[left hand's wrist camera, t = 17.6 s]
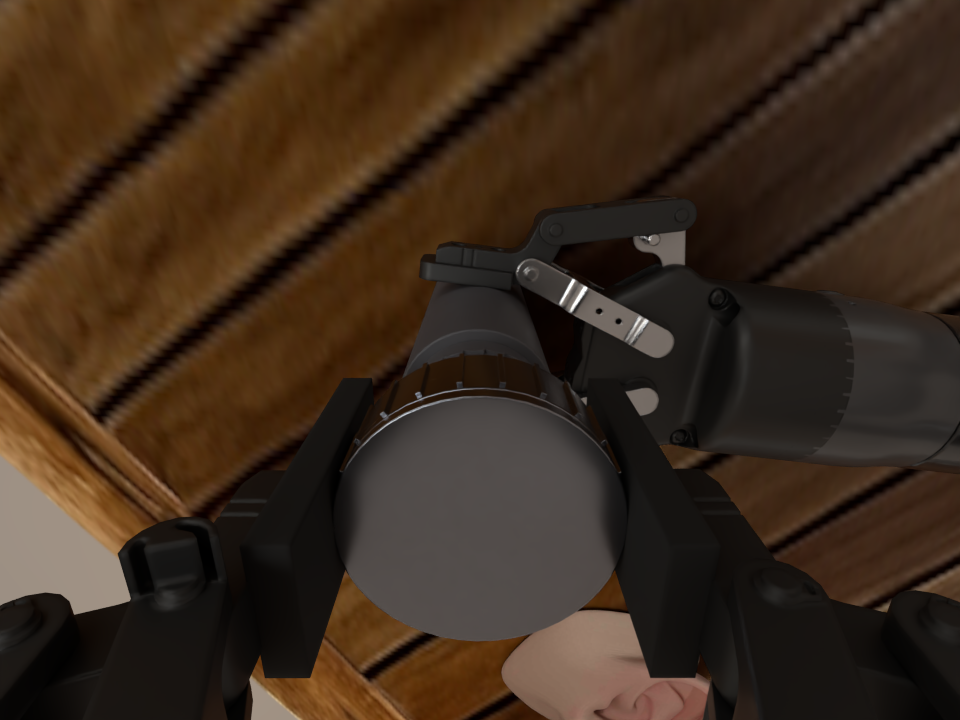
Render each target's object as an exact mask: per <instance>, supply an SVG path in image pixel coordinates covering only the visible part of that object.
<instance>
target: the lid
mask: <svg viewBox="0 0 960 720" xmlns="http://www.w3.org/2000/svg"><path fill="white" fill-rule="evenodd" d="M338 475H341V476H340V479H339V482H338V485H337V488H336V491H335V495H334V501H333V508H332V520H333V530H334V538H335V544H336V547H337V551H338V554H339V557H340V559H341V561H342V563H343V565H344V567H345V569H346V571H347V573H348V574H349V576H350V577H351V579H352V580H353V582H354V583H355V585H356V586H357V587H358V588H359V589H360V590H361V592H362V593H363V594H364V595H365V596H366V597H367V598H368V599H369V600H370V601H371V602H373V603H374V604H375V605H376V606H377V607H378V608H380V609H381V610H382V611H384V612H385V613H387V614H388V615H390V616H391V617H393V618H395V619H396V620H398V621H400V622H402V623H404V624H406V625H408V626H410V627H413V628H415V629H418V630H420V631H423V632H426V633H429V634H433V635H437V636H440V637H445V638H451V639H457V640H468V641H495V640H503V639H510V638H515V637H520V636H524V635H528V634H531V633H534V632H537V631H540V630H543V629H546V628H548V627H550V626H552V625H554V624H556V623H559V622H561V621H562V620H564V619H566V618H567V617H569V616H571V615H572V614H574V613H575V612H577V611H578V610H579V609H581V608H582V607H583V606H584V605H586V604H587V603H588V602H589V601H590V600H591V599H592V598H593V597H594V596H595V595H596V594H597V593H598V592H599V591H600V590H601V589H602V588H603V586H604V585H605V584H606V582H607V581H608V580H609V579H610V577H611V575H612V573H613V572H614V570H615V568H616V566H617V565H618V562H619V560H620V557H621V555H622V552H623V550H624V546H625V540H626V533H627V524H628V503H627V498H626V494H625V490H624V486H623V483H622V481H621V478H620V477H622V476H623V474H622V471H621V469H620V467H619V464H618V462H617V460H616V458H615V455H614V453H613V451H612V449H611V447H610V444H609V442H608V440H607V438H606V435H605V434H604V433H603V431H602V429H601V426H600V424H599V422H598V420H597V417H596V415H595V413H594V411H593V408H592V407H591V406H590V405H589V406H588V407H587V406H586V405H585V403H584V402H583V401H582V400H581V399H580V397H579V396H578V395H577V394H576V393H575V392H574V391H573V390H572V388H571V386H570V383H569V382H567V381H565V382H562V381H561V380H560V379H558V378H557V377H555V376H554V375H552V374H551V373H549V372H547V371H545V370H543V369H541V368H540V367H539V364H537V363H534V364H533V365H532V364H529V363H526V362H523V361H520V360H516V359H512V358H507V357H503V354H499V353H498V355H497V356H492V355H466V356H465V354H464V353H462V354H459V357H453V358H448V359H444V360H441V361H437V362H434V363H431V364H428V362H426V363H424V364H423V366H422V368H420V369H417V370H415V371H414V372H412V373H410V374H409V375H407V376H405V377H404V378H402V379H401V380H399V381H398V382H397V381H396V380H394V381H393V382H392V384H391V386H390V388H389V389H388V390H387V391H386V392H385V394H384V395H383V396H382V397H381V398H380V399H379V400H378V401H377V403H376V404H375V405H372V404H371V405H370V406H369V408H368V410H367V412H366V415H365V417H364V419H363V421H362V424H361V426H360V428H359V430H358V433H356V434H355V436H354V438H353V440H352V443H351V445H350V447H349V449H348V452H347V454H346V456H345V458H344V460H343V463H342V465H341V467H340V469H339V472H338Z"/></svg>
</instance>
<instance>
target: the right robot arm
mask: <svg viewBox="0 0 960 720" xmlns="http://www.w3.org/2000/svg"><path fill="white" fill-rule="evenodd" d="M696 217H697V209H696V207H695V205H694V204H693V203H692V202H691V201H690V200H687V199H682V198H675V197H669V196H653V197H645V198H636V199H628V200H619V201H610V202H602V203H593V204H585V205H576V206H568V207H559V208H551V209H544V210H542V211H540V212H539V213H538V214H537V215H536V217H535V219H534V224H533V226H532V228H531V230H530V231H529V233H528V235H527V237H526V239H525V240H524V242H523V243H522V244H520V245H519V246H517V247H515V248H510V249H509V248H500V247H492V246H484V245H477V244H476V245H475V244H469V243H461V242H453V241H451V242H447V243H443V244H439V246H438V248H437V252H436V255H435V254H424V255H423V257H422V258H421V262H420V273H419V277H420V278H422V279H425V280H431V281H439V282H446V283H454V284H462V285H470V286H478V287H488V288H494V289H502V290H510V291H511V284H514V285H521V286H523V287H524V288H526V289H528V290H530V291H532V292H534V293H536V294H538V295H540V296H542V297H543V298H545V299H547V300H549V301H551V302H553V303H555V304H557V305H559V306H560V307H562V308H563V309H564V310H566V311H567V312H569V313H570V314H572V315H574V316H575V319H574V325H573V328H574V340H575V342H574V345H573V347H572V349H571V351H570V353H569V355H568V357H567V361H566V366H565V370H563V371H558V372H553V373H551V374H552V375H554V376H555V377H557V378H558V379H560V380H561V381H562V382H565V381H567V382H569V383H570V386H571V388H572V390H573V391H574V392H575V393H576V394H577V395H578V396H579V397H580V399H581V400H582V401H583V402H584V403H585V405H586V403H587V390H588V378H617V379H618V381H619V382H620V384H621V385H622V387H623V389H624V390H625V392H626V394H627V395H628V397H629V398H630V400H631V402H632V403H633V405H634V406H635V408H636V410H637V411H638V413H639V415H640V416H641V418H642V419H643V421H644V423H645V424H646V426H647V427H648V429H649V431H650V432H651V434H652V436H653V437H654V439H655V440H656V442H657V444H658V445H659V446H660V445H666V444H672V445H677V446H682V447H685V448H689V449H694V450H699V451H707V452H716V453H725V454H733V455H742V456H751V457H760V458H769V459H778V460H787V461H796V462H805V463H813V464H822V465H831V466H843V467H874V466H889V467H901V468H909V469H918V470H927V471H936V472H945V473H953V474H960V316H953V315H945V314H938V313H930V312H921V311H916V310H910V309H906V308H902V307H899V306H896V305H892V304H889V303H885V302H881V301H877V300H872V299H866V298H860V297H853V296H845V295H844V294H841V293H838V292H835V291H825V290H817V291H806V290H798V289H791V288H783V287H775V286H768V285H760V284H752V283H744V282H736V281H729V280H721V279H713V278H706V277H703V276H700V275H699V274H698V273H696V272H695V271H694V270H693V269H691V268H690V267H688V266H685V230H687V229H689V228H690V227H691V226H692V225H693V224H694V222H695V220H696ZM620 238H628V241H629V243H630V245H631V246H632V247H634V248H636V249H638V250H640V251H642V252H646V253H652V254H653V256H654V258H655V262H656V263H654V264H652V265H650V266H648V267H646V268H644V269H642V270H640V271H639V272H637V273H635V274H633V275H631V276H629V277H627V278H625V279H623V280H621V281H619V282H617V283H615V284H613V285H611V286H609V287H608V288H606V289H605V288H603V287H602V286H600V285H598V284H596V283H594V282H592V281H590V280H588V279H587V278H585V277H583V276H581V275H579V274H577V273H575V272H573V271H571V270H569V269H566V268H564V267H562V266H560V265H558V264H556V263H554V262H553V260H554V258H555V256H556V255H557V253H558V251H559V249H560V247H561V246H562V245H567V244H576V243H585V242H593V241H602V240H611V239H620Z"/></svg>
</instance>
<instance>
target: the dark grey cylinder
mask: <svg viewBox="0 0 960 720" xmlns="http://www.w3.org/2000/svg"><path fill="white" fill-rule="evenodd" d="M462 353H464V354H465V356H466V355H492V356H497V355H498V353H499V354H503V357H507V358H512V359H516V360H520V361H523V362H526V363H529V364H532V365H533V364H534V363H537V364H539V367H540V368H541V369H543V370H545V371H547V372H549V373H550V371H549V368H548V365H547V362H546V359H545V356H544V353H543V350H542V348H541V345H540V342H539V339H538V336H537V333H536V330H535V327H534V325H533V322H532V319H531V316H530V313H529V310H528V307H527V304H526V302H525V299H524V296H523V293H522V290H521V287H520V285H514V284H511V291H510V290H502V289H494V288H488V287H478V286H470V285H462V284H454V283H446V282H439V281H437V283H436V286H435V289H434V291H433V294H432V297H431V300H430V302H429V305H428V308H427V311H426V314H425V316H424V319H423V322H422V325H421V328H420V330H419V333H418V336H417V339H416V342H415V344H414V347H413V350H412V353H411V356H410V358H409V361H408V364H407V367H406V369H405V372H404V375H403V378H404V377H405V376H407V375H409V374H410V373H412V372H414V371H415V370H417V369H420V368H422V366H423V364H424V363H426V362H428V364H431V363H434V362H437V361H441V360H444V359H448V358H453V357H459V354H462Z"/></svg>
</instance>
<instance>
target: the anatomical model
mask: <svg viewBox="0 0 960 720" xmlns="http://www.w3.org/2000/svg"><path fill="white" fill-rule="evenodd" d="M699 658H700V657H699ZM698 663H699V662H698ZM502 678H503V680H504V682H505V684H506V685H507V686H508V687H509V689H510V690H511V691H512V692H513V693H514V694H515V695H517V696H518V697H519V698H520V699H521V700H522V701H523V702H525V703H526V704H527V705H528V706H529V707H531V708H532V709H534V710H535V711H537V712H538V713H540V714H542V715H543V716H545V717H546V718H548V719H550V720H702V719H703V714H704V709H705V704H706V700H707V695H708V690H709V685H710V681H708V680H707V679H706V678H704V677H703V676H701V675H699V674H698V673H696V677H695V678H650V676H649V672H648V669H647V666H646V663H645V660H644V657H643V654H642V651H641V648H640V645H639V642H638V639H637V636H636V633H635V630H634V626H633V623H632V620H631V617H630V614H627V613H621V612H614V611H602V610H582V611H577V612H575V613H574V614H572V615H571V616H569V617H567V618H566V619H564V620H562V621H561V622H559V623H556V624H554V625H552V626H550V627H548V628H546V629H543V630H540V631H537V632H534V633H532V634H531V635H530V636H529V637H528V638H527V639H525V640H524V641H523V642H522V643H521V644H520V645H519V646H518V647H517V648H516V649H515V650H514V651H513V652H512V654H511V655H510V656H509V657H508V658H507V660H506V661H505V663H504V665H503V667H502Z"/></svg>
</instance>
